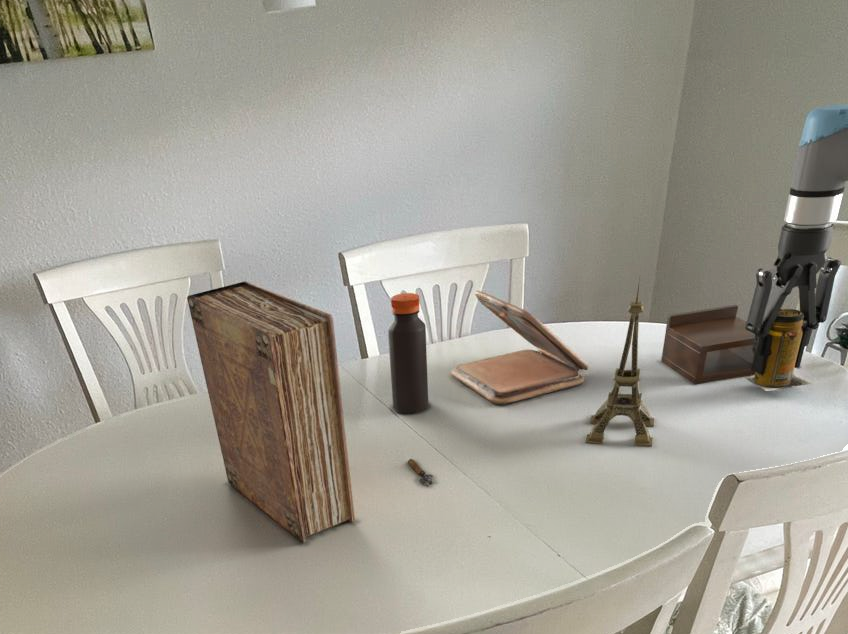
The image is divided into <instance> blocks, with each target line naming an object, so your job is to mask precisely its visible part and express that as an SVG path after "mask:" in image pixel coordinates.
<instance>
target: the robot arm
mask: <svg viewBox="0 0 848 634" xmlns="http://www.w3.org/2000/svg"><path fill="white" fill-rule="evenodd" d="M791 180H792V181H791V185H790V186H791V187H790V188H789V193H788V198H787V202H786V207H785V212H784V217H783V221H784V222H785V224H784V225H783V226H781V230H780V233H779V234H780V235H779V240H778V244H777V251H778V252H777V253H778V254H777V258H776V259H775V260H774V262H773V265H771V266H769V267H767V268H765V269H764V268H758V269H757V270H756V273H755V275H756V276H755V278H756V279H755V281H756V285H755V289H754V293H753V297H752V301H751V304H750V308H749V311H748V316H747V319H746V322H747V323H746V327H745V328H746V330H748V331H750V332H752V333H754V334H755V338H754V342H753V347H752V352H753V353H755V354H754V359H753V363H752V368H751V369H752V370H753V371H755V372H757V373H759V374H764V372H765V367H766V363H767V358H768V354H769V350H770V345H771V341H772V335H770V334H769V332H770V330H771V328H772V326H773V323H774V321H775V319H776V317H777V315H778V313H779V311H780V309H782V307H783V305H784V304H785V303H784V302H785V301H786V299H787V297H788V295H790V294H791V293H792V291H793V289H794V288H796V287H797V288H798V298H799V299H798V300H799V311H802V312H803V313H804V318H803V325H802V326H801V328H802V330H803V334H802V338H801V342H800V346H799V350H798V354H797V359H796V363H795V367H794V369H799V368H801V364H802V361H803V360H802V359H803V355H804V352H805V348H806V347H808V346H809V344H810V341H811V337H812V333H813V330H814V331H815V330H817V329H818V328H819V326H820V323H821V324H822V323H823V324H824V323H825V322H826V321H827V319H828V313H829V308H830V303H831V298H832V293H833V288H834V284H835V278H836V276H837V273H838V271H839V269H840V267H841V266H842V265H841V264H842V262H841V260H839V259H836V258H833V257H831V256H829V257H827V251H828V250H829V249H830V247H831V244H832V240H833V236H834V231H835V225H834V224H833V223H835V222H836V221H837V219H838V216H839V212H840V209H841V204H842V200H843V196H844V192H845V187H846V183H847V182H848V103H844V104H829V105H824V106H823V105H821V106H819V107H815V108H814V109H812V110H811V111H810V112H809V113H808V114H807V116H806V120H805V122H804V126H803V130H802V133H801V137H800V141H799V143H798V145H797V155H796V159H795V165H794V170H793V175H792V179H791ZM818 273H819V274H818ZM817 274H818V278H817ZM775 276H776V278H775Z"/></svg>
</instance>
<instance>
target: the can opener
mask: <svg viewBox="0 0 848 634" xmlns="http://www.w3.org/2000/svg"><path fill="white" fill-rule="evenodd" d="M407 464H408V466H410V468H411V469H412V470H413V471H414V472H416V474H418V476H420V478H419V480H418V481H419V483H420V484H421V485H422V486H424V487H429V485H433V480H432V478H433V477H434V476H433V475H432V474H426V472H425V470H424V469H422V468H421V466H420V464H418V462H416V461H415V459H413V458H409V460H408V461H407Z"/></svg>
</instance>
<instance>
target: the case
mask: <svg viewBox="0 0 848 634" xmlns="http://www.w3.org/2000/svg"><path fill="white" fill-rule="evenodd" d="M474 295H475V297H476V299H477V301H478V302H479V303H480V304H481V305H482V306H483V307H485V308H486V309H488V311H490V312H492V314H494V316H496V317H497V318H498V319H499V320H501V321H502V322H504V324H506V325H507V326H508V327H510V328H511V329H512V330H513V331H514V332H515V333H516V334H518V335H519V336H521V337H522V338H523V339H524V340H525V341H527V342H528V343H529V344H530V345H533V346H534V347H536V348H537V350H534V349H523V350H517V351H513V352H509V353H504V354H500V355H496V356H492V357H487V358H483V359H479V360H473V361H470V362H465V363H462V364H459V365H456V366H455V367H454V368H452V370H451V375H452V377H454V378H455V379H457V380H458V381H459V382H461V383H463V384H464V385H466V386H467V387H468V388H470V389H472V390H473V391H474V392H475V393H477V394H479V395H480V396H482V397H483V398H484V399H486V400H488V401H489V402H490V403H492V404H496V405H506V404H511V403H515V402H518V401H522V400H528V399H530V398H534V397H538V396H542V395H545V394H549V393H553V392H557V391H561V390H565V389H569V388H572V387H577V386H579V385H582V384H583V383H585V377H584V375H582V374H580V371H588V370H589V369H590V366H589V365H588V363H587V362H586V361H585V360H583V359H582V358H581V356H579V355H578V354H577V353H576V352H575V351H573V350H572V348H570V347H569V346H568V345H567V344H566V343H564V341H562V339H560V338H559V337H558V336H557V335H556V334H555V333H554V332H553V331H551V330H550V328H548V327H547V326H546V325H545V324H543V323H542V321H541V320H539V319H538V318H537V317H536V316H534V315H533V314H532V313H530V312H529V311H527V310H526V309H523V308H522V307H518V306H517V305H515V304H513V303H510V302H507V301H505V300H503V299H500V298H498V297H495V296H494V295H491V294H489V293H486V292H484V291H481V290H475V292H474Z"/></svg>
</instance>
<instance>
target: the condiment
mask: <svg viewBox="0 0 848 634" xmlns="http://www.w3.org/2000/svg"><path fill="white" fill-rule="evenodd" d="M803 318H804V313H803V312H802V311H800V309H799V310H798V309H795V308H781V309H780V311H779V313H778V315H777V317H776V319H775V321H774V323H773V326H772V328H771V330H770V332H769V334H770V335H772V341H771V345H770V350H769V354H768V358H767V363H766V367H765V372H764V374H759V373H757V372H755V375H753V376H743V378H744V380H746V381H748V382H750V383H751V384H753V385H755V386H756V387H757V388H760V389H762V390H763V391H765V392H770V391H777V390H784V389H788V388H792V387H801V386H805V385H811V384H812V382H810V381H807V380H805V379H803V378H801V377H799V376H797V375H796V374H794V370H795V368H794V367H795V363H796V359H797V354H798V350H799V346H800V342H801V338H802V334H803V330H802V328H801V326H802V325H803Z"/></svg>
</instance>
